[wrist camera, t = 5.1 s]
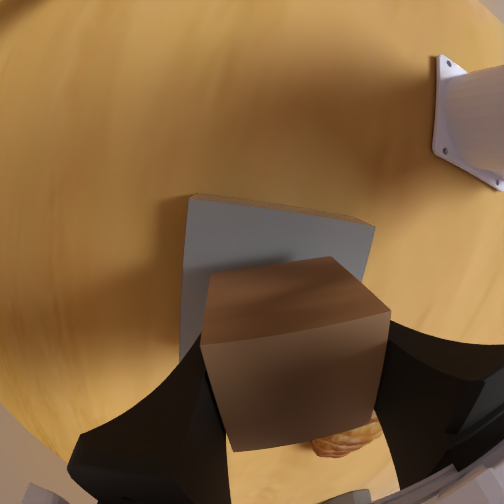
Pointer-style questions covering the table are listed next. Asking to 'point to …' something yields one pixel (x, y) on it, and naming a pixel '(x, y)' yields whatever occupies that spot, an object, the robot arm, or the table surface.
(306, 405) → the walnut cube
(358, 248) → the block
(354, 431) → the pastry
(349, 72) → the table surface
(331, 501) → the coffeepot
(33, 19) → the table surface
